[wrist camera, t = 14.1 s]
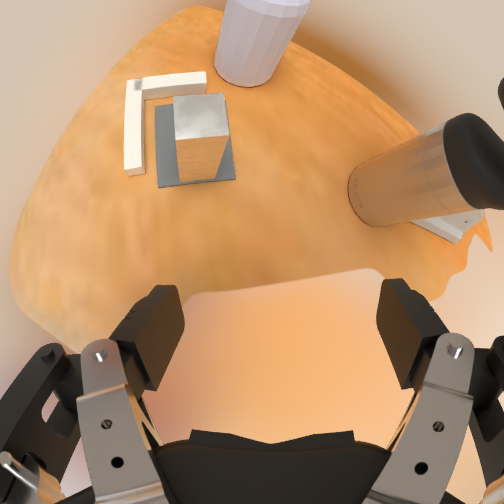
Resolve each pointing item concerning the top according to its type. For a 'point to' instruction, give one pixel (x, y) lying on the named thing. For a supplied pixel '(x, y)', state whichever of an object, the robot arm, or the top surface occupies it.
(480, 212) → the grey rounded block
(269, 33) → the soap bottle
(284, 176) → the top surface
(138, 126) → the corner piece
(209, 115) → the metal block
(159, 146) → the pad
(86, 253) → the top surface
